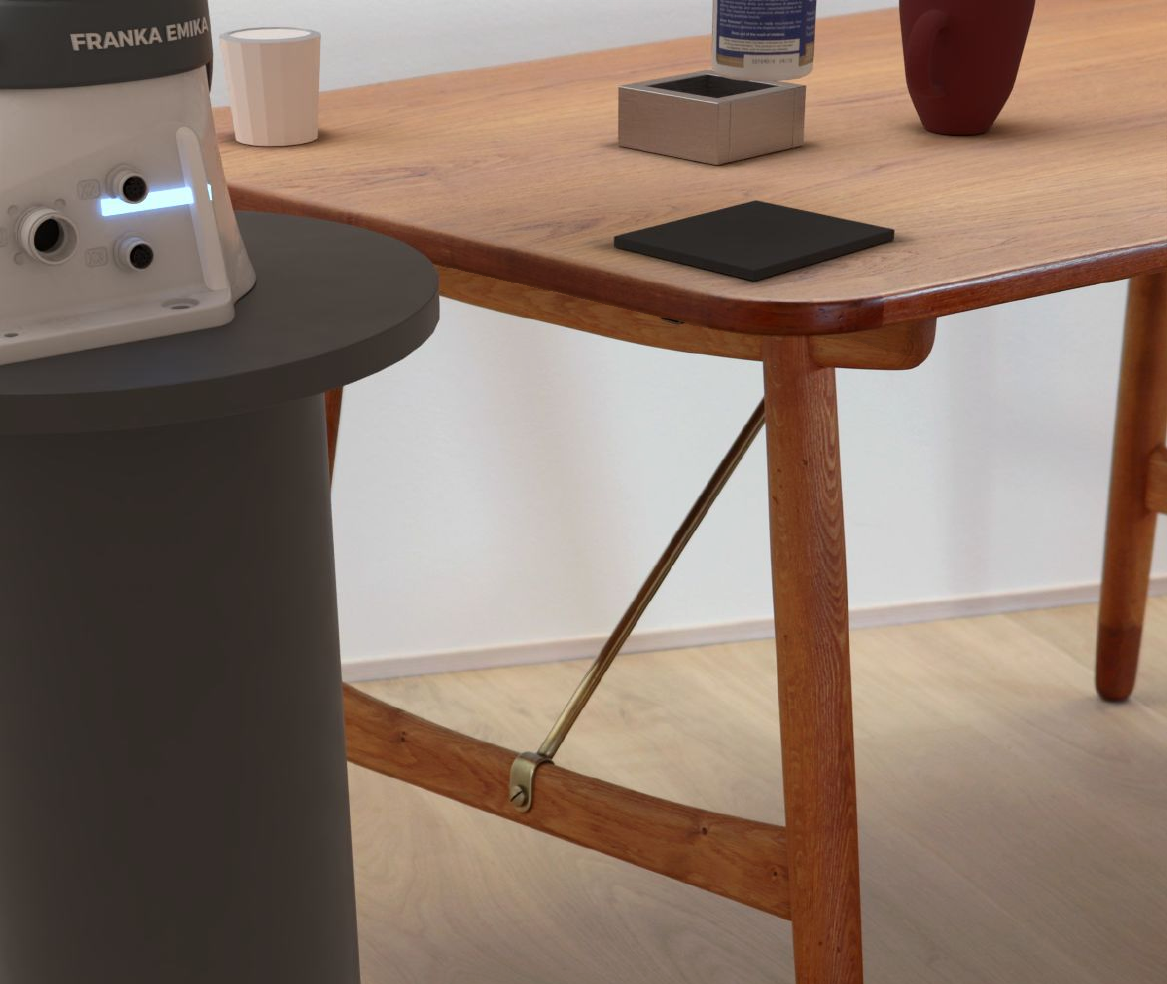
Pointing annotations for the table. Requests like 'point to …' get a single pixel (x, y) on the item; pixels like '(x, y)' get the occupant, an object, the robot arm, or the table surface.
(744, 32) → the pill bottle
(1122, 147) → the table surface
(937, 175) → the table surface
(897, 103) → the table surface
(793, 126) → the box
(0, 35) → the robot arm
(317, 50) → the beige cup
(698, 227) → the mat
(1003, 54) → the mug
